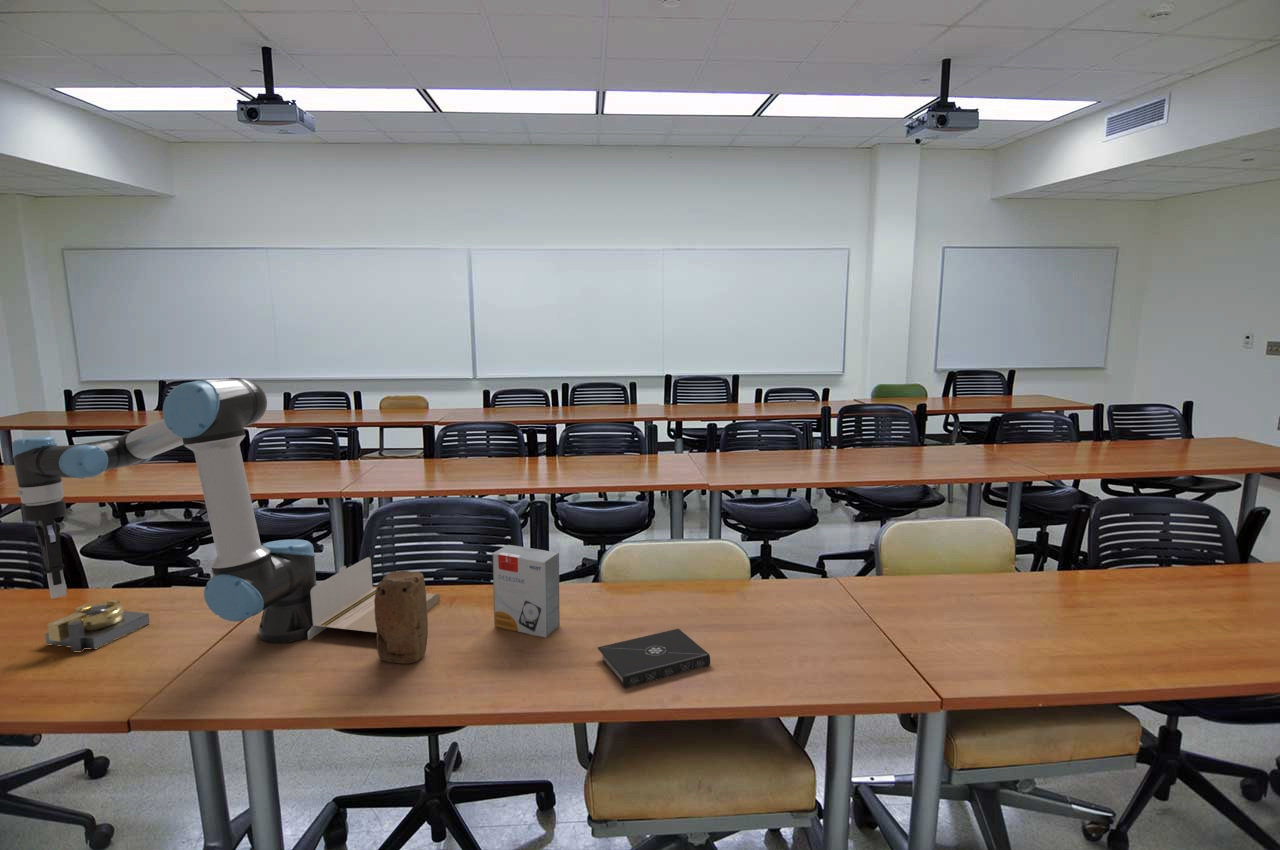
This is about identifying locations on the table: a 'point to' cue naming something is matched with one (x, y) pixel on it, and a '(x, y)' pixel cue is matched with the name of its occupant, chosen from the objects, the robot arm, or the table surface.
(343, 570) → the box
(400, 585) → the block
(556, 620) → the hard drive box
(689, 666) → the book
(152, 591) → the table surface
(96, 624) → the brass ring with ball
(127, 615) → the housing
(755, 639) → the table surface
